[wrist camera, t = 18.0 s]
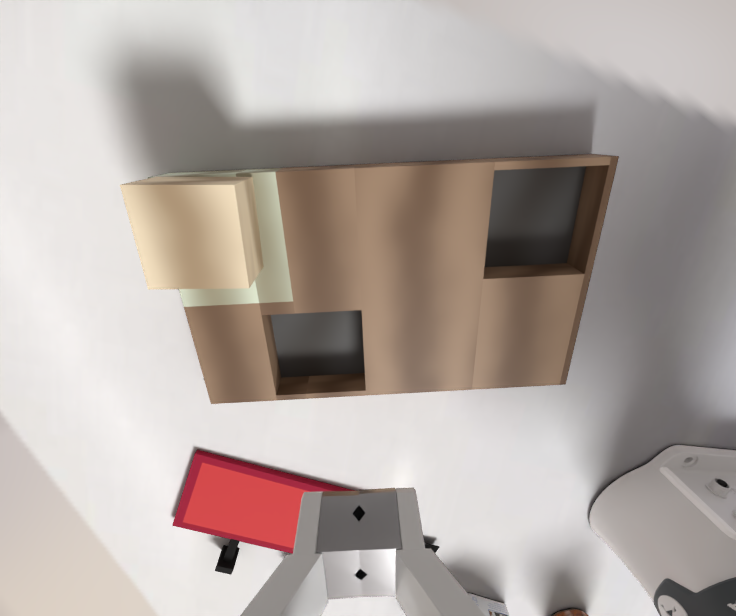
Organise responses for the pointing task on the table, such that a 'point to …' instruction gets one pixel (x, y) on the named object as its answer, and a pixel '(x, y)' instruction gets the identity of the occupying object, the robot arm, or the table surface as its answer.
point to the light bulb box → (490, 606)
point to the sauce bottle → (571, 613)
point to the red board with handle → (244, 504)
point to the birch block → (195, 231)
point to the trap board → (406, 278)
